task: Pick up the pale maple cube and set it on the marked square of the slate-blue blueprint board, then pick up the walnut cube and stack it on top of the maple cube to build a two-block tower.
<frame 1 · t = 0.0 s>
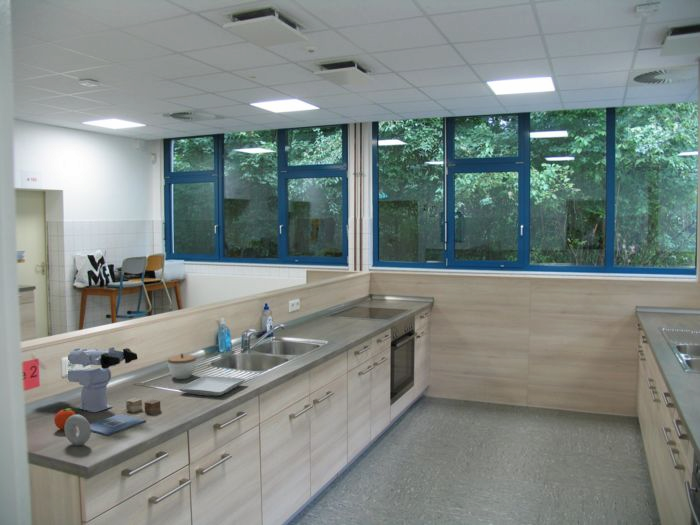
hand: (127, 358, 213), 22 cm above the worktop, tool horizontal, fingers open, 7 cm apart
walnut block: (152, 411, 220), on the worktop
maple block: (134, 410, 222), on the worktop
salad plate: (212, 391, 248), on the worktop
donut: (78, 445, 186), on the worktop
clementine: (67, 429, 202), on the worktop
blueprint board: (114, 425, 205), on the worktop
lidded bowl: (182, 377, 270), on the worktop
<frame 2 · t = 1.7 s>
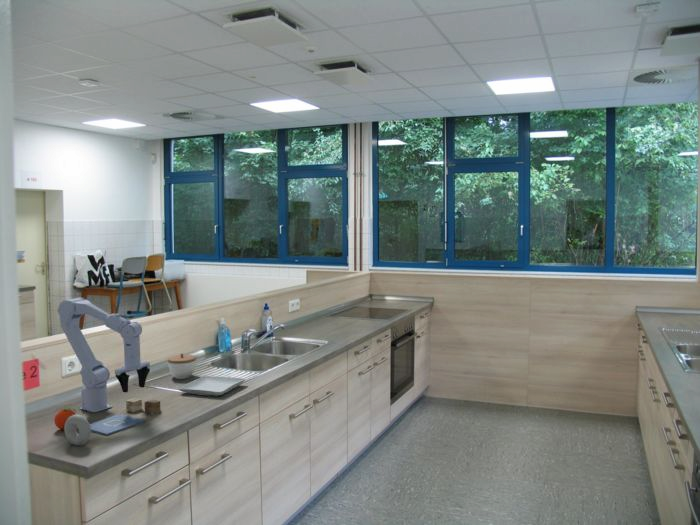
hand: (133, 389, 221), 8 cm above the worktop, tool pointing down, fingers open, 7 cm apart
nothing on the worktop moved.
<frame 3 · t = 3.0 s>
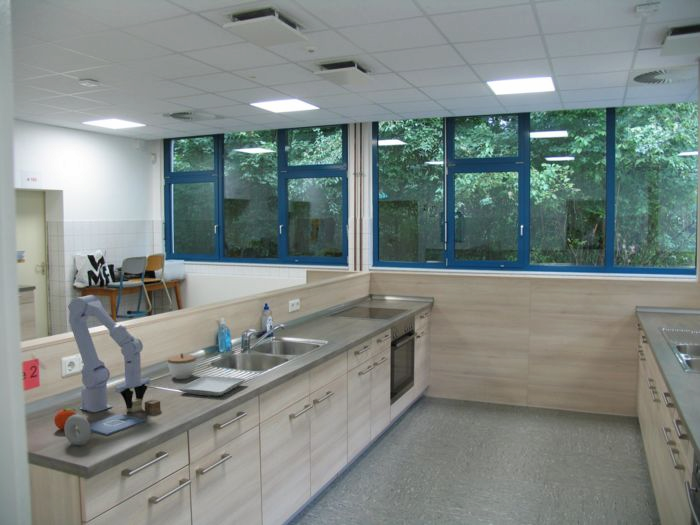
hand: (134, 406, 222), 1 cm above the worktop, tool pointing down, fingers closed on maple block, 4 cm apart
maple block: (134, 409, 222), on the worktop, touching gripper
everything else where it was.
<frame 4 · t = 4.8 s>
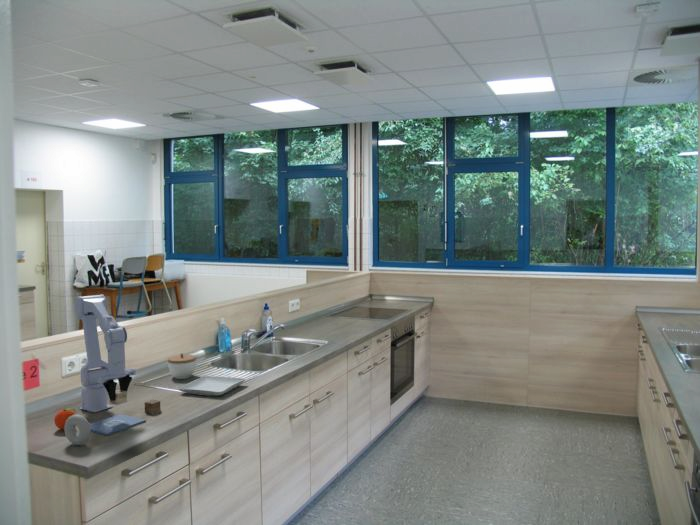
hand: (118, 398, 208), 8 cm above the worktop, tool pointing down, fingers closed on maple block, 4 cm apart
maple block: (118, 402, 208), point 7 cm above the worktop, touching gripper
everything else where it was.
when the fingers open (3 cm above the worktop, at t = 6.6 s): maple block stays where it is, resting on blueprint board.
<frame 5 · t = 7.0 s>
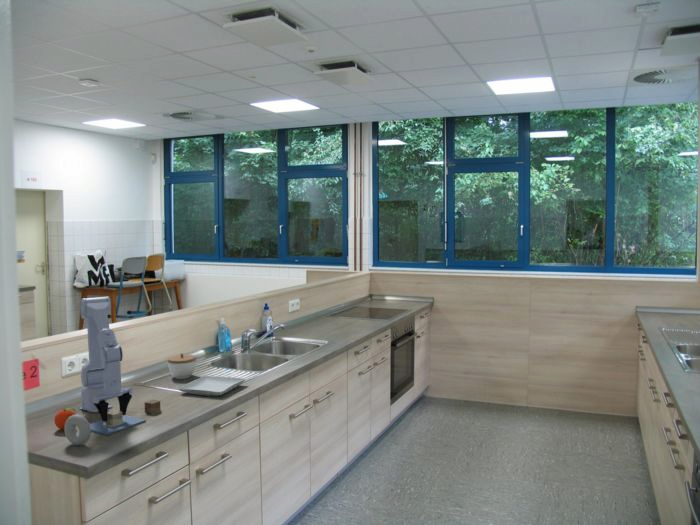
hand: (113, 417, 205), 3 cm above the worktop, tool pointing down, fingers open, 7 cm apart
maple block: (114, 423, 205), point 1 cm above the worktop, touching blueprint board
everything else where it was.
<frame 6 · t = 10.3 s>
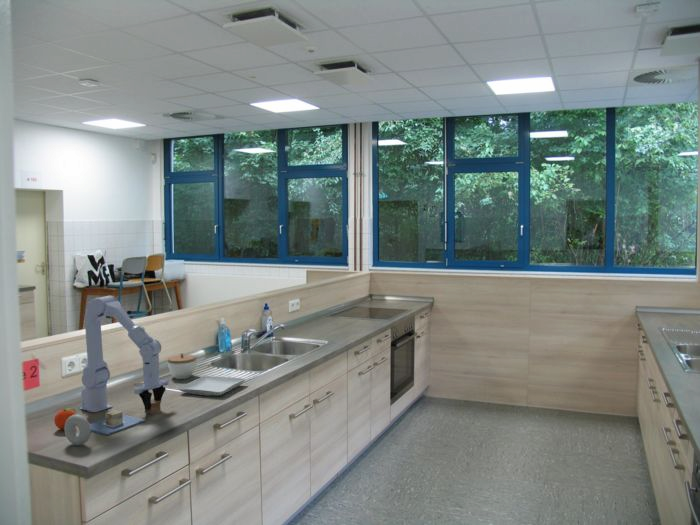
hand: (152, 407, 219), 1 cm above the worktop, tool pointing down, fingers closed on walnut block, 4 cm apart
walnut block: (152, 411, 220), on the worktop, touching gripper
everything else where it was.
when the fingers open (7 cm above the worktop, at t = 13.9 s): walnut block stays where it is, resting on maple block.
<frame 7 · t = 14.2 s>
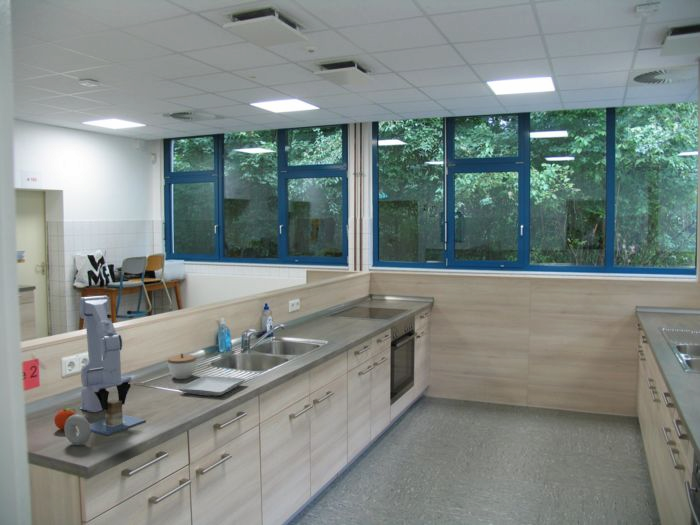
hand: (113, 406, 205), 7 cm above the worktop, tool pointing down, fingers open, 6 cm apart
walnut block: (113, 412, 205), point 5 cm above the worktop, touching maple block
maple block: (114, 423, 205), point 1 cm above the worktop, touching blueprint board, walnut block
everything else where it was.
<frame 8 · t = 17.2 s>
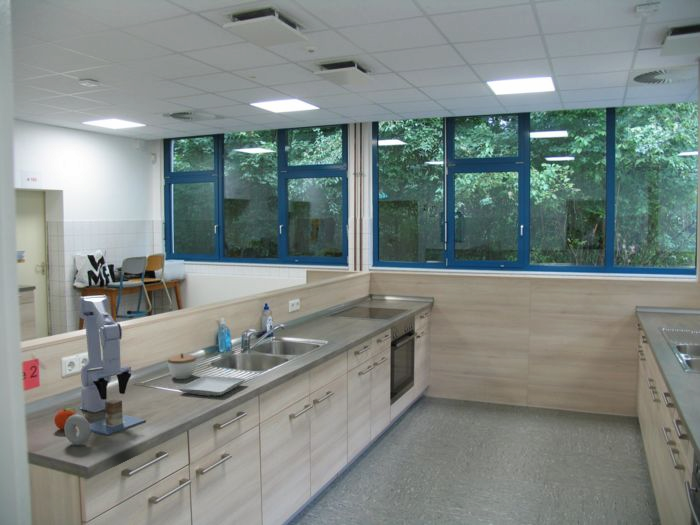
hand: (113, 396, 204), 10 cm above the worktop, tool pointing down, fingers open, 7 cm apart
nothing on the worktop moved.
at the end: maple block 0.1 cm off-centre on the blueprint board, point 0.6 cm above the blueprint board's base; walnut block 0.0 cm off-centre on the maple block, point 4.0 cm above the maple block's base; walnut block tilted 0° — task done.
